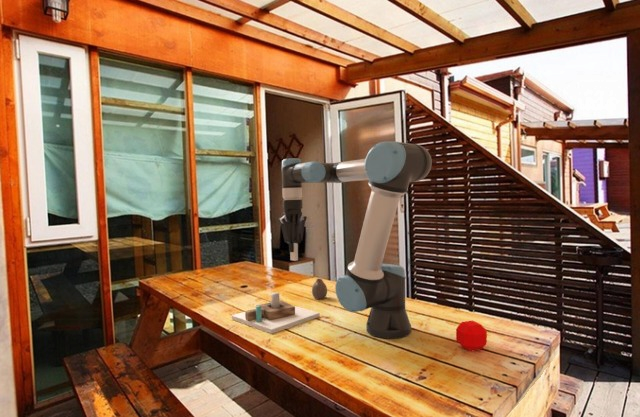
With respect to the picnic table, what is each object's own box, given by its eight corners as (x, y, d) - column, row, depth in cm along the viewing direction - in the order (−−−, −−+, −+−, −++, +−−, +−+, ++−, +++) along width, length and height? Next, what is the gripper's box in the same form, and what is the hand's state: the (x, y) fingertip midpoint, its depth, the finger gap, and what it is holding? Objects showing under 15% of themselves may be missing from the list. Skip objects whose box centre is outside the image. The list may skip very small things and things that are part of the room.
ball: (491, 351, 117) (491, 325, 117) (468, 354, 115) (468, 329, 115) (473, 341, 125) (473, 317, 125) (452, 344, 123) (451, 320, 122)
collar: (281, 307, 160) (281, 300, 160) (295, 314, 151) (294, 306, 151) (241, 316, 150) (240, 308, 150) (252, 323, 141) (252, 315, 141)
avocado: (325, 300, 175) (325, 281, 175) (310, 300, 176) (310, 280, 176) (328, 296, 182) (328, 277, 181) (314, 296, 183) (313, 277, 183)
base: (319, 316, 153) (319, 292, 153) (271, 333, 136) (270, 306, 135) (279, 305, 169) (278, 283, 169) (231, 319, 152) (231, 295, 152)
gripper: (297, 198, 159) (299, 256, 160) (273, 199, 149) (274, 261, 150) (311, 198, 153) (312, 258, 154) (286, 199, 144) (288, 263, 145)
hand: (294, 260), depth 152 cm, fingers closed
